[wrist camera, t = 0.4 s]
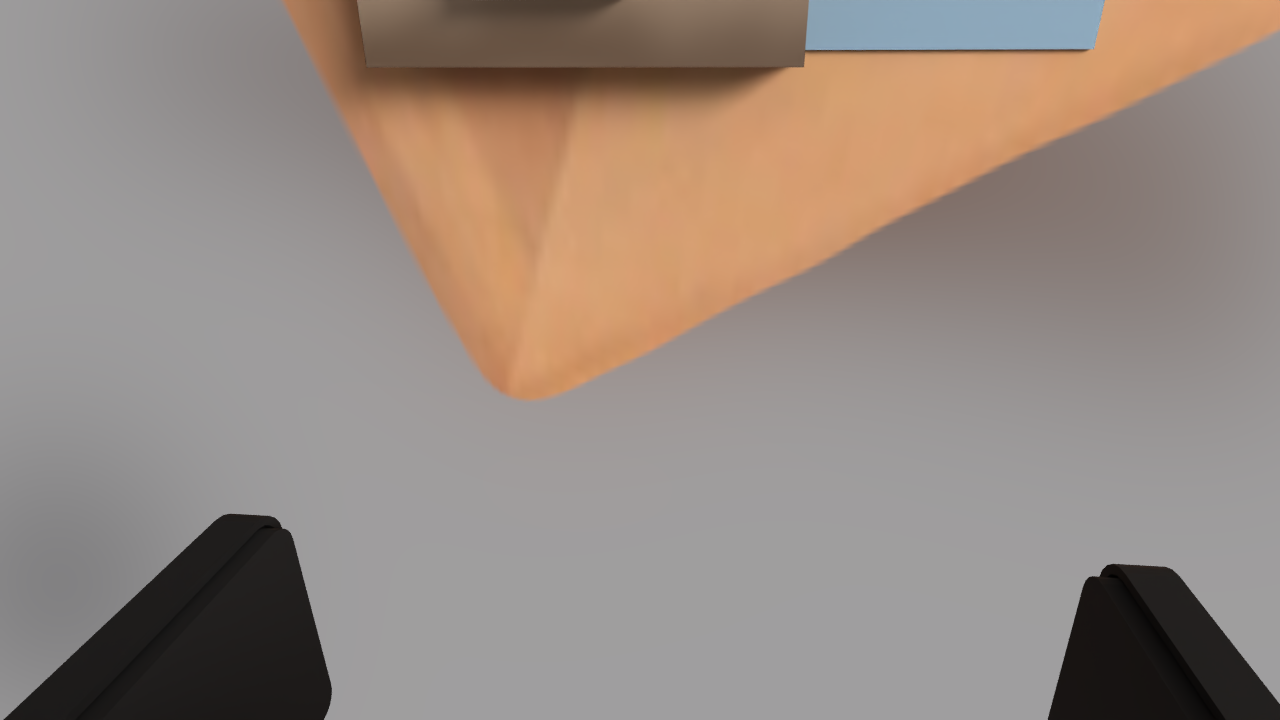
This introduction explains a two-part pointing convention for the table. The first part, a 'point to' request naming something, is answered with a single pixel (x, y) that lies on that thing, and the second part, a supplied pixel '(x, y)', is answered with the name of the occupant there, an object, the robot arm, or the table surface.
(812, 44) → the mat
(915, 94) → the table surface
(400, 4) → the brown wooden block
